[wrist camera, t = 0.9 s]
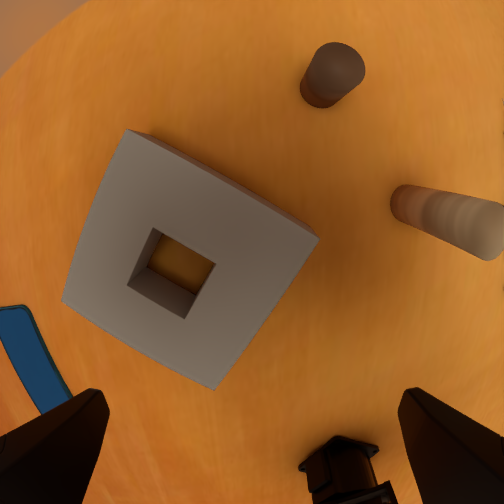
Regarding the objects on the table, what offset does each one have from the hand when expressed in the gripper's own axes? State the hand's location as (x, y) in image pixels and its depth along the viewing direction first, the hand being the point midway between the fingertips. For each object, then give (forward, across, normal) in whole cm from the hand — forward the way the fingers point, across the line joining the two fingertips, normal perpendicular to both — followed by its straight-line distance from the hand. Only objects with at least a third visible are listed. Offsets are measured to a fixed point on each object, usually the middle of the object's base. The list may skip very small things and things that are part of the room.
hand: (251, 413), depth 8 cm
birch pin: (+13, -10, -4) cm, 17 cm away
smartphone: (+14, +23, +11) cm, 29 cm away
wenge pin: (+13, -4, -12) cm, 18 cm away
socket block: (+13, +5, -1) cm, 14 cm away
